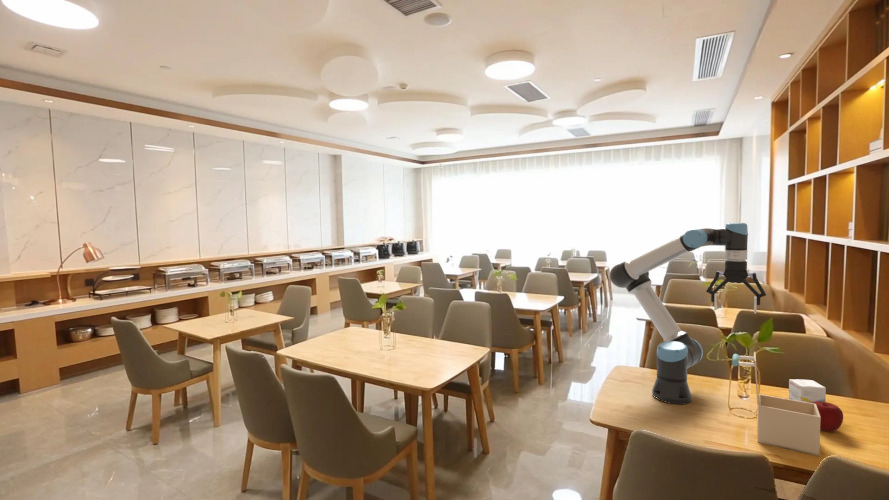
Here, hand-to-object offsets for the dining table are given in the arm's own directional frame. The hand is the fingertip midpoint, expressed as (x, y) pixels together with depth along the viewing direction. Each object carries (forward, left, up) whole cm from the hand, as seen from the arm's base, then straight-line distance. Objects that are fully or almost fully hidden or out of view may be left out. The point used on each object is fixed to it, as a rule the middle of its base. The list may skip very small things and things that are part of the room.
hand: (734, 311), depth 176 cm
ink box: (+24, +5, -39) cm, 46 cm away
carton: (+16, -28, -39) cm, 50 cm away
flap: (+7, -28, -18) cm, 34 cm away
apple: (+28, -10, -39) cm, 49 cm away
